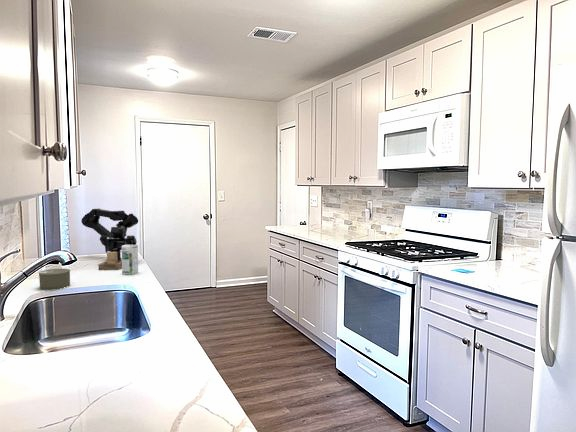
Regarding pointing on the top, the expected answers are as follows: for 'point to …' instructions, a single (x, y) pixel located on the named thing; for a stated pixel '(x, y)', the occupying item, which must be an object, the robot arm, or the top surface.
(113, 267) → the walnut collar stand
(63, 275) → the can
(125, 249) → the syrup box
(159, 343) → the top surface
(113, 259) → the tan wooden block
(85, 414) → the top surface
